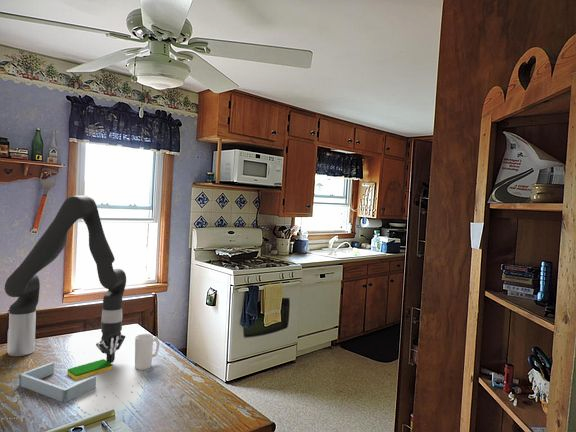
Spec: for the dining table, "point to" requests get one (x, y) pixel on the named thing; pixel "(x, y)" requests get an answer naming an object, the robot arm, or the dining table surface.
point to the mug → (145, 350)
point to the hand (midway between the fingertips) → (110, 362)
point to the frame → (56, 392)
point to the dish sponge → (89, 369)
